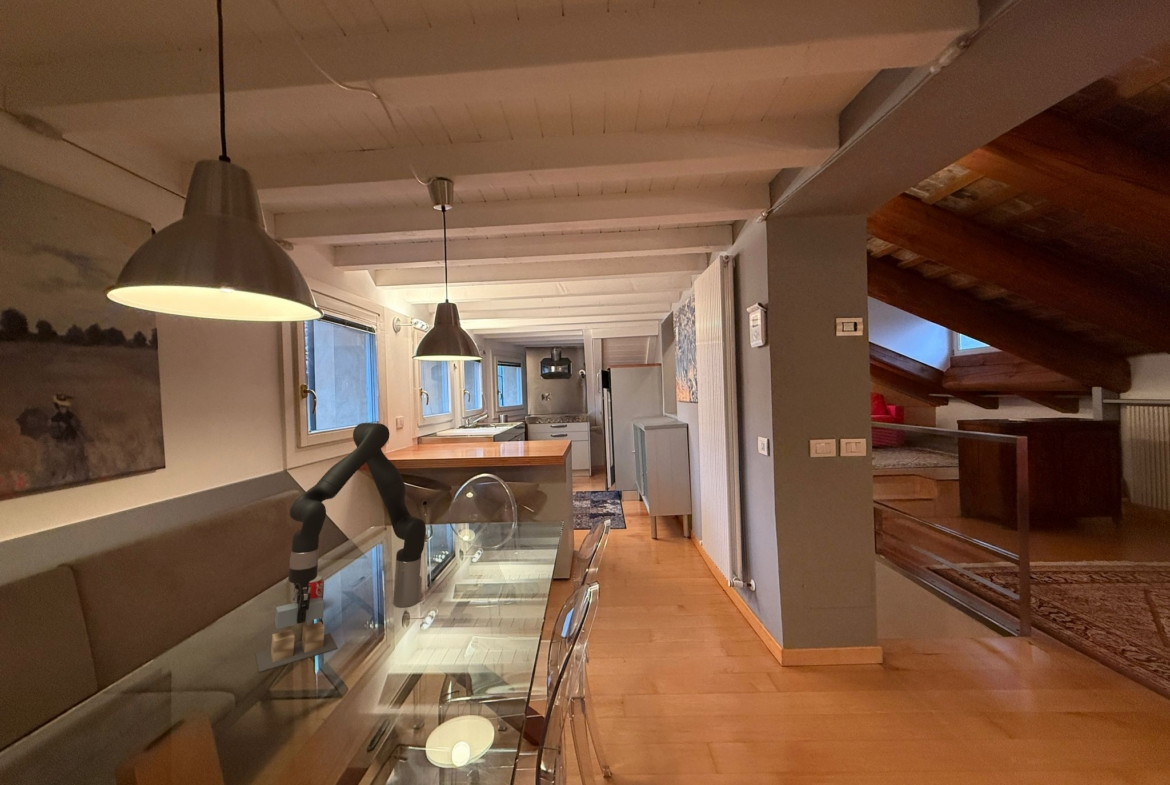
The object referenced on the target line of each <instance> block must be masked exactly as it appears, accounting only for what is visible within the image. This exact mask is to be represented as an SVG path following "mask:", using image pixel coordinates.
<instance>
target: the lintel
mask: <svg viewBox="0 0 1170 785" xmlns="http://www.w3.org/2000/svg"><path fill="white" fill-rule="evenodd" d="M303 606H305V605H302V607H303ZM324 607H325V600H324V598H323V599H322V597H318V598H314V599H310V603H309V609H308V610H306V620H305V622H304V623H306V622H310V621H314V620H318V619H321V618H324V610H325V609H324ZM274 617H275V619H274V625H275V627H276V629H277V630H280V629H282V628H283V629H284V628H287V627H290V626H294V625H299V624H298V623H297V603H294V602H292V603H288V604H284V605H280V606H276V608H275V616H274Z"/></svg>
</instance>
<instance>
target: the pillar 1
mask: <svg viewBox="0 0 1170 785" xmlns="http://www.w3.org/2000/svg"><path fill="white" fill-rule="evenodd" d="M294 643H295V633H294V631H293V629H287V630H284V631H281V632H280V631H279V632H277V633H272V634H271V646H270V649H271V657H272V661H273V662H275V661H278V660H282V659H285V658H289V657H292V656H293V650H294Z"/></svg>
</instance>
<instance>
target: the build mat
mask: <svg viewBox="0 0 1170 785" xmlns="http://www.w3.org/2000/svg"><path fill="white" fill-rule="evenodd" d="M338 649H339V647H338V645H337V644H336V642H335V640H334V638H333V636H332V634H331V632H329V633H324V643H323V648H319V649H316V650H312V651H309V652H306V653H305V652H304V650H303V647H302V640H300V641H296V642H294V650H293V656H292V657H289V658H285V659H282V660H278V661H275V662H273V661H272V657H271V648H270V649H267V650H264V651H260V652H256V653H255V654H254V655H255V660H256V665H257V669H258V673H259V674H261V673H262V672H265V671H270V670H272V669H276V668H279V667H283V666H286V665H288V664H292V663H295V662H299V661H302V660H305V659H308V658H311V657H315V656H319V655H322V654H326V653H328V652H333V651H335V650H338Z"/></svg>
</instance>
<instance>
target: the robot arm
mask: <svg viewBox="0 0 1170 785" xmlns="http://www.w3.org/2000/svg"><path fill="white" fill-rule="evenodd" d="M352 439H353V442H354V444H355V446H356V448H355V449H354V450H353V451H352V452H350V453H349V454H348V455H347V456H345V457H344V458H342V459H341V460H338V462H336V463H335V464H334V465H333V466H332V467H330V468H329V469H328V470H327V471H326V472H325V474H323V476H321V478H320V479H319V480H318V482H317V483H316V484H315V485H313V486H312V487H310V488H309V489H308V490H307V491H305V492H304V493H303V494H301V495H300V496H299V497H298V498H297V499H295V501H293V503H292V505H291V506H290V509H289V517H290V518H291V519H292V520H294V521H296V522H299V523H302V526H301V529H299V530H297V531H295V532H294V533H293V535H292V536H293V537H292V540H291V541H292V542H291V544H292V545H291V552H290V553H291V554H290V557H289V566H288V567H289V568H288V579H287V580H288V582H289V583H291V584H293V598H292V600H293V603H297V623H298V624H297V625H299V624H302V623H306V622H305V620H306V610H308V609H309V603H310V597H311V593H310V590H311V586H310V585H309V582H310V581H312V580H314V579H315V578H316V577H317V576H318V570H319V569H318V568H319V567H318V566H319V541H320V534H321V531H322V529H323V525H324V523H325V520H326V516H327V508H326V505H325V504H324V503H323V501H326V500H327V501H328V500H332V499H333V498H335V497H336V496H337V495H338V494H339V492H340V491H341V490H342V489H343V488H344V486H345V485H346V484H347V483H348V481H349V480H350V479H351V478H352V477H354V475H355V474H356V472H357V471H359V470H360V468H361V467H362V466H364V465H365V464H366V465H367V467H368V470H369V473H370V475H371V476H372V479H373V481H374V484H375V487H376V488H377V491H378V494H379V495H380V498H381V499H382V500H381V501H382V503H383V504H384V507H385V509H386V510H387V514H388V517H389V519H390V524H391V527H392V530H393V533H394V534H395V536H396V537H397V539H400V540H403V541H404V542H403V548H399V549H398V550H397V551H396V557H395V572H394V583H393V584H394V587H393V599H392V600H393V601H392V604H393V605H394V606H395V607H398V608H406V607H407V608H408V607H411V606H414V605H416V604H417V603H419V602H421V594H422V580H423V577H422V576H421V566H422V565H421V564H422V563H421V562H422V553H423V551H424V548H425V542H426V541H425V540H426V532H427V528H426V523H425V521H424V520H423V519H421V518H419V517H416V516H413V515H411V514H410V512H409V509H408V507H407V504H406V501H405V499H406V498H405V497H406V492H407V490H406V484H405V481H404V480H403V479H404V478H403V477H402V474H401V472H400V471H399V468H397V467H396V466H395V464H394V463H392V461H390V459H389V458H388V457H387V456H386V455H385V453H384V451H383V450H382V448H384V446H385V445H386V444H387V443H388V442H389V439H390V430H389V428H388V427H387V425H385V424H383V423H379V422H361V423H359V424H357V425H356V426H355V427H354V428H353V433H352ZM302 605H305V606H303V607H302Z"/></svg>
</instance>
